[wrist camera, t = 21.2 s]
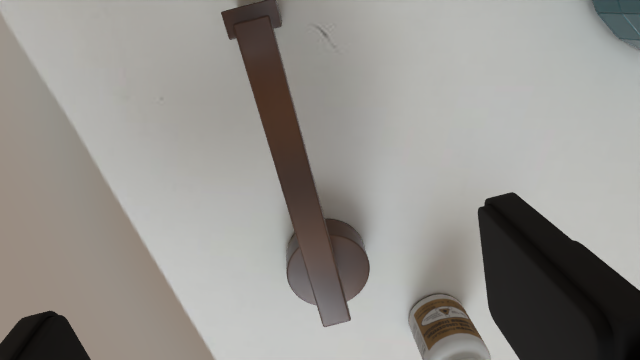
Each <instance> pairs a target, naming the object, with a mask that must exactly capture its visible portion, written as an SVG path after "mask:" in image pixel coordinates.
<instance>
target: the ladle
mask: <svg viewBox="0 0 640 360" xmlns="http://www.w3.org/2000/svg"><path fill="white" fill-rule="evenodd" d="M221 14H222V17H223V20H224V24H225V27H226V30H227V34H228V37H229V39H230V40H232V39H236V38H237V41H238V45H239V48H240V51H241V54H242V58H243V61H244V64H245V68H246V71H247V74H248V78H249V81H250V84H251V88H252V91H253V94H254V98H255V101H256V104H257V108H258V111H259V114H260V118H261V121H262V124H263V128H264V131H265V134H266V138H267V141H268V144H269V148H270V151H271V154H272V158H273V161H274V164H275V168H276V171H277V174H278V178H279V181H280V184H281V188H282V191H283V194H284V198H285V201H286V204H287V207H288V211H289V214H290V217H291V221H292V224H293V227H294V231H295V234H294V235H293V237H292V238H291V240H290V242H289V244H288V248H287V255H286V258H287V279H288V282H289V285H290V287H291V289H292V290H293V291H294V293H295V294H296V295H297V296H298V297H300V298H301V299H302V300H304V301H306V302H308V303H310V304H313V305H317V307H318V311H319V314H320V317H321V321H322V324H323V326H324V327H327V326H331V325H335V324H339V323H343V322H347V321H350V320H351V318H350V313H349V308H348V304H347V301H349V300H350V299H352V298H353V297H355V296H356V295H357V294H358V293H359V292H360V291H361V290H362V289H363V287H364V286H365V284H366V282H367V280H368V276H369V271H370V265H369V260H368V257H367V254H366V251H365V248H364V245H363V242H362V240H361V238H360V236H359V234H358V233H357V232H356V231H355V230H354V229H353V228H352V227H351V226H349V225H347V224H346V223H343V222H341V221H337V220H332V219H325V218H324V215H323V211H322V207H321V203H320V200H319V196H318V192H317V189H316V185H315V181H314V177H313V174H312V170H311V166H310V162H309V159H308V155H307V151H306V148H305V144H304V140H303V136H302V133H301V129H300V125H299V121H298V118H297V114H296V110H295V107H294V103H293V99H292V95H291V92H290V88H289V84H288V80H287V77H286V73H285V69H284V66H283V62H282V58H281V54H280V51H279V47H278V43H277V39H276V36H275V32H274V28H278V27H281V26H282V18H281V15H280V11H279V7H278V3H277V1H276V0H264V1H261V2H257V3H253V4H249V5H245V6H242V7H238V8H234V9H230V10H226V11H223V12H221Z"/></svg>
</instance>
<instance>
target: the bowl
mask: <svg viewBox="0 0 640 360" xmlns="http://www.w3.org/2000/svg"><path fill="white" fill-rule="evenodd" d="M592 1H593V4H594V7H595V10H596V12H597V14H598V15H599V16H600V17H601V19H602V20H603V21H604V22H605V23H606V25H607V26H608V27H609V28H610V29H611V31H612V32H613V33H614V34H615V35H616V36H617V37H618V38H619V39H620V40H622V41H624V42H626V43H628V44H630V45H632V46H634V47H636V48H638V49H640V0H592Z"/></svg>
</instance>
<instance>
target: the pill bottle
mask: <svg viewBox="0 0 640 360" xmlns="http://www.w3.org/2000/svg"><path fill="white" fill-rule="evenodd" d="M409 326H410V329H411V332H412V334H413V337H414V339H415V342H416V344H417V347H418V349H419V352H420V354H421V357H422V359H423V360H491V357H490V353H489V350H488V348H487V347H486V345H485V343H484V341H483V340H482V338H481V336H480V335H479V333H478V331H477V330H476V328H475V326H474V325H473V323H472V321H471V320H470V318H469V316H468V315H467V313H466V311H465V310H464V308H463V306H462V305H461V303H460V302H459V301H458V300H456V299H455V298H453V297H451V296H448V295H441V294H440V295H432V296H429V297H427V298H424V299H422V300H421V301H420V302H418V303H417V304H416V305H415V306H414V308H413V309H412V311H411V313H410V317H409Z"/></svg>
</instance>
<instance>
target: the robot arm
mask: <svg viewBox="0 0 640 360" xmlns="http://www.w3.org/2000/svg"><path fill="white" fill-rule="evenodd" d="M478 219H479V228H480V237H481V246H482V254H483V263H484V272H485V281H486V290H487V298H488V306H489V310H490V313H491V316H492V318H493V320H494V322H495V323H496V325H497V326H498V328H499V329H500V331H501V332H502V334H503V335H504V337H505V338H506V340H507V341H508V343H509V344H510V346H511V347H512V349H513V350H514V352H515V353H516V355H517V356H518V358H519V359H520V360H640V291H639V290H638V289H637V288H636V287H634V286H633V285H632V284H631V283H629V282H628V281H627V280H626V279H624V278H623V277H622V276H621V275H619V274H618V273H617V272H616V271H614V270H613V269H612V268H611V267H610V266H608V265H607V264H606V263H605V262H603V261H602V260H601V259H600V258H598V257H597V256H596V255H595V254H593V253H592V252H591V251H590V250H589V249H587V248H586V247H585V246H584V245H582V244H581V243H579V242H577V241H573V240H571V239H570V238H569V237H568V236H567V235H565V234H564V233H563V232H562V231H560V230H559V229H558V228H557V227H556V226H554V225H553V224H552V223H551V222H549V221H548V220H547V219H546V218H545V217H543V216H542V215H541V214H540V213H539V212H537V211H536V210H535V209H534V208H532V207H531V206H530V205H529V204H528V203H526V202H525V201H524V200H523V199H521V198H520V197H519V196H518V195H517V194H515V193H513V192H512V193H507V194H503V195H499V196H495V197H492V198H488V199H486V200H485V206H483V207H479V209H478ZM0 360H91V359H90V358H89V356H88V354H87V353H86V351H85V349H84V347H83V346H82V345H81V342H80V341H79V339H78V337H77V336H76V334H75V332H74V331H73V329H72V327H71V325H70V324H69V322H68V320H67V319H66V318H65V317H64V316H62V315H58V314H57V313H55V312H53V311H47V312H43V313H39V314H35V315H31V316H28V317H24V318H22V319H21V320H20V321H18V323H17V324H16V325H15V326H14V328H13V329H12V330H11V331H10V332H9V334H8V335H7V336H6V337H5V339H4V340H3V341H2V342H1V344H0Z"/></svg>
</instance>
